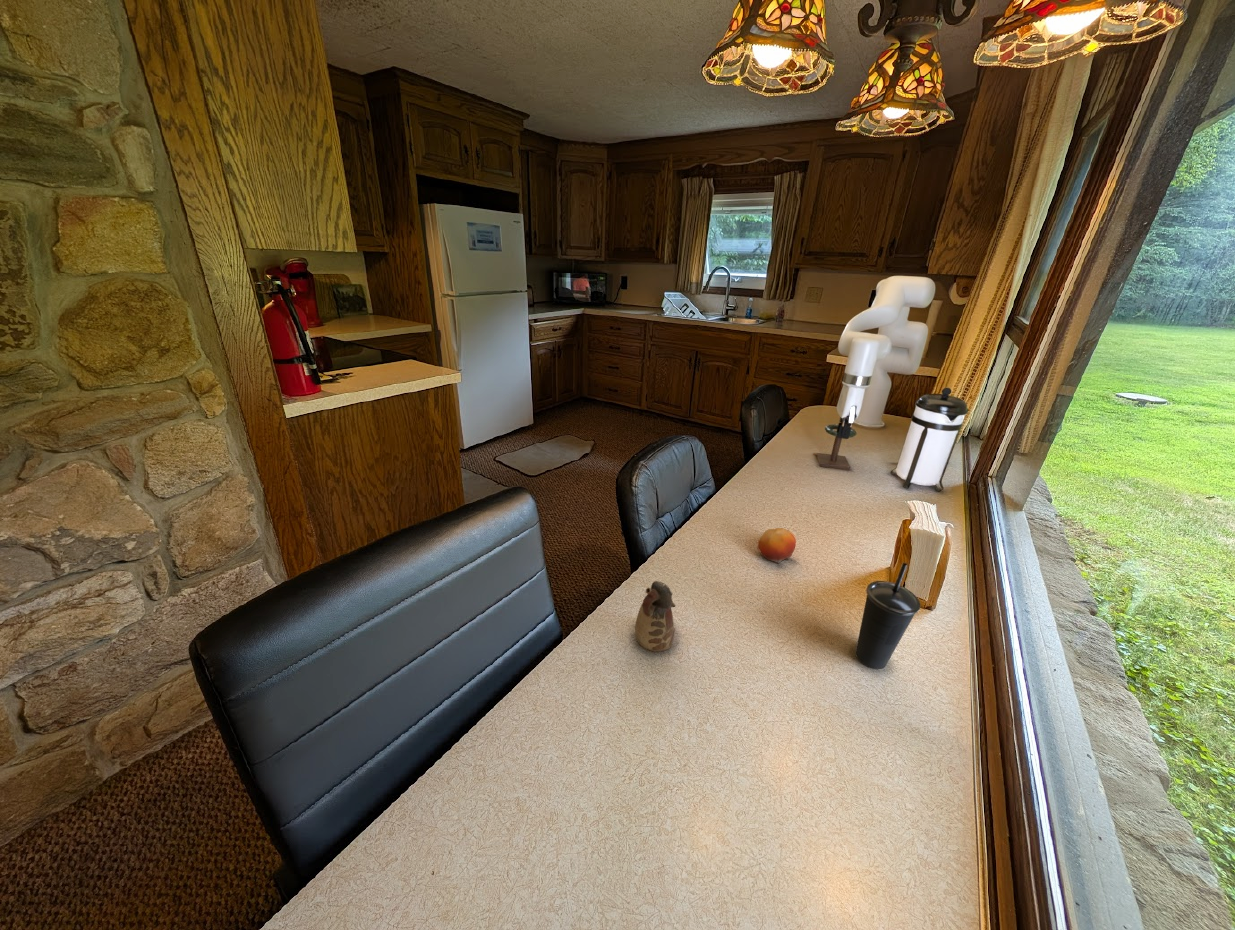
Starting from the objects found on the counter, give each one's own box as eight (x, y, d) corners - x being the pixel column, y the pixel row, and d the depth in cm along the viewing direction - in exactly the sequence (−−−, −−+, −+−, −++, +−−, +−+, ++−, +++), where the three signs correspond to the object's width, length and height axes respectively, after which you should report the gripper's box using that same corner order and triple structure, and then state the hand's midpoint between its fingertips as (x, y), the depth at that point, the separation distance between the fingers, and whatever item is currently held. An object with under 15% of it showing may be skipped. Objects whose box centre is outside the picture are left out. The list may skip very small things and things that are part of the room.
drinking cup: (901, 658, 80) (939, 565, 71) (886, 684, 75) (925, 587, 66) (856, 634, 84) (886, 543, 76) (839, 656, 80) (870, 563, 71)
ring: (822, 427, 154) (823, 422, 153) (852, 430, 152) (853, 425, 151) (827, 436, 146) (828, 431, 145) (858, 440, 144) (859, 435, 143)
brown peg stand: (816, 455, 159) (824, 422, 153) (844, 459, 157) (853, 425, 151) (819, 466, 151) (828, 431, 145) (849, 470, 149) (858, 435, 143)
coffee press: (955, 485, 141) (991, 390, 128) (928, 498, 133) (964, 398, 120) (898, 464, 154) (926, 376, 141) (871, 474, 146) (898, 382, 133)
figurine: (682, 643, 81) (688, 589, 76) (648, 658, 78) (653, 603, 73) (659, 617, 87) (664, 565, 82) (627, 630, 84) (630, 577, 79)
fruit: (785, 569, 99) (775, 533, 99) (757, 568, 105) (748, 534, 106) (808, 558, 103) (799, 523, 103) (780, 557, 110) (771, 524, 110)
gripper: (838, 372, 146) (825, 426, 153) (847, 385, 132) (833, 444, 139) (864, 374, 144) (850, 429, 152) (876, 387, 130) (859, 447, 138)
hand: (842, 436), depth 146 cm, fingers closed on ring, 2 cm apart
